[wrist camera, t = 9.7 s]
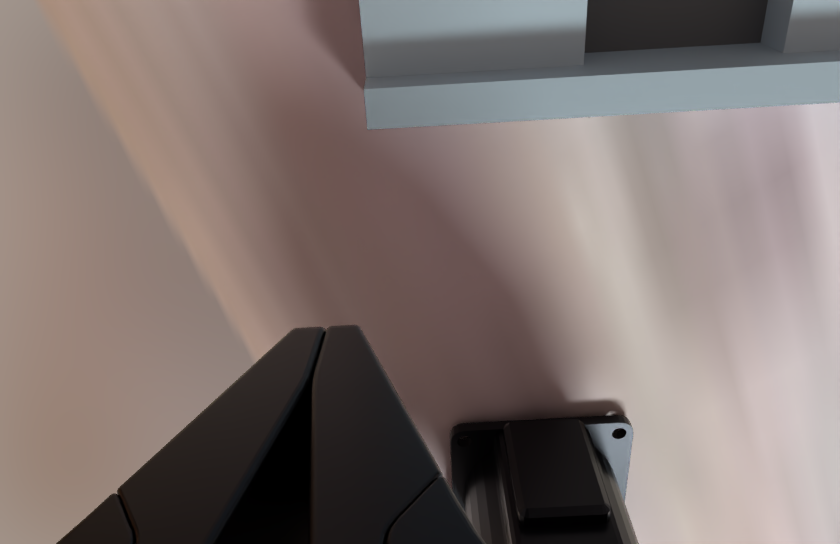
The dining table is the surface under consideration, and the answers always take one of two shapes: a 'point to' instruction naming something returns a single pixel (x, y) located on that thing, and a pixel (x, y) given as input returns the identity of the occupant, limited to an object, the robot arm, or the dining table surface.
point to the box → (592, 58)
